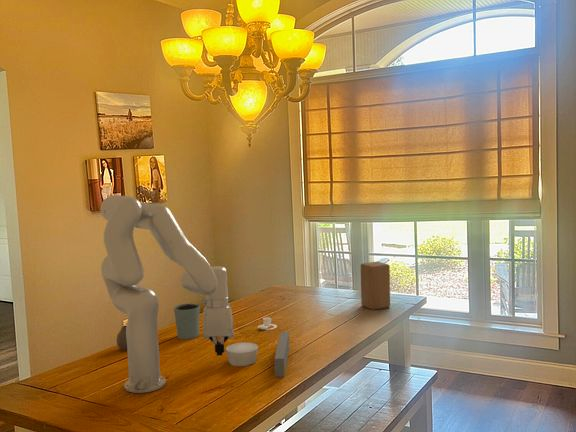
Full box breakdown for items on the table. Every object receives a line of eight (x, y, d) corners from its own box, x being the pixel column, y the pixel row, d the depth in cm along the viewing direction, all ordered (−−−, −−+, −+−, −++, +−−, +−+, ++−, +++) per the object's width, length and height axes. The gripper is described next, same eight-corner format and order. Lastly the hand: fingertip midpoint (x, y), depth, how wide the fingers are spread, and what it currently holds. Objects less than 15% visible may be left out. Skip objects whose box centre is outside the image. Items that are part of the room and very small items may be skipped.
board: (284, 376, 185) (283, 358, 184) (275, 376, 185) (274, 358, 184) (289, 347, 213) (288, 331, 212) (281, 347, 213) (280, 331, 212)
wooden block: (360, 305, 267) (359, 263, 265) (378, 302, 271) (377, 260, 269) (372, 310, 258) (371, 266, 256) (391, 307, 262) (390, 264, 260)
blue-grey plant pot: (176, 341, 225) (174, 311, 224) (174, 333, 235) (172, 304, 233) (202, 338, 228) (201, 308, 226) (199, 330, 237) (198, 302, 236)
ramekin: (223, 358, 204) (223, 344, 203) (254, 354, 206) (254, 340, 206) (229, 369, 193) (228, 354, 192) (261, 365, 196) (261, 350, 195)
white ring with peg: (262, 332, 233) (262, 322, 233) (252, 328, 240) (252, 318, 240) (280, 328, 238) (280, 318, 238) (270, 323, 245) (270, 314, 244)
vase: (129, 344, 222) (127, 322, 221) (140, 348, 218) (138, 325, 217) (113, 349, 217) (112, 327, 216) (124, 353, 213) (122, 330, 212)
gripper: (193, 306, 195) (196, 358, 197) (237, 305, 194) (239, 357, 196) (197, 300, 202) (200, 351, 204) (240, 299, 201) (242, 350, 203)
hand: (219, 354), depth 200 cm, fingers closed
